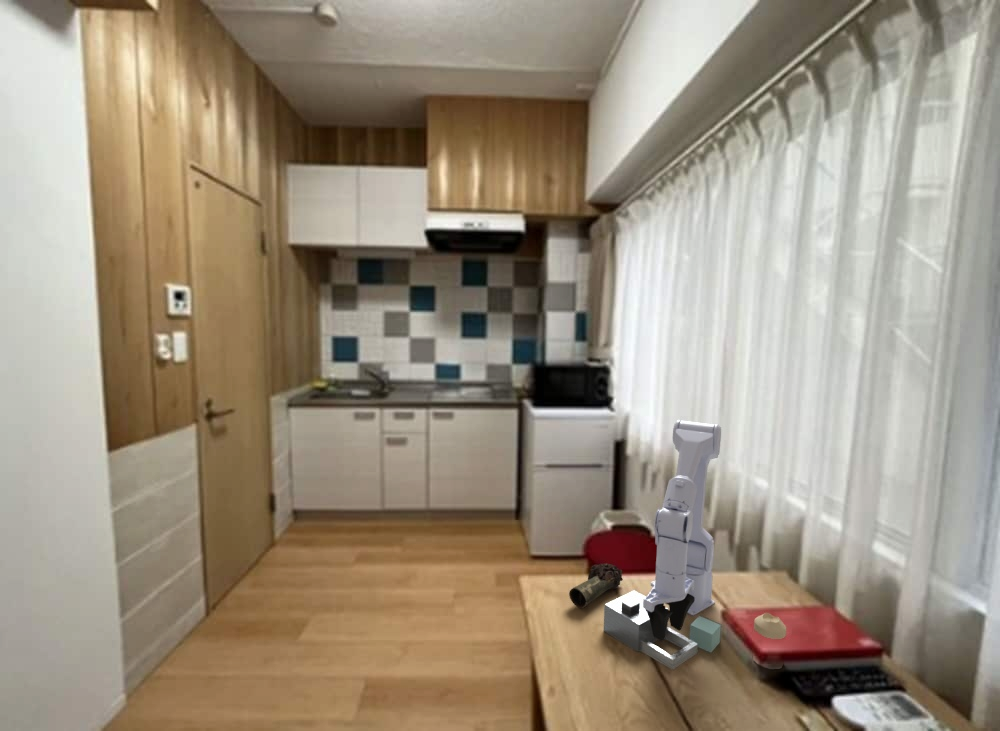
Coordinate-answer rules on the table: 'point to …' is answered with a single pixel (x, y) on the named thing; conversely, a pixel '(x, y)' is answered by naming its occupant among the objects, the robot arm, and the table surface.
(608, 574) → the olive hollow tube
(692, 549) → the robot arm
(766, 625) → the candle
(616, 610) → the silver box with frame
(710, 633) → the mint cube
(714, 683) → the table surface
